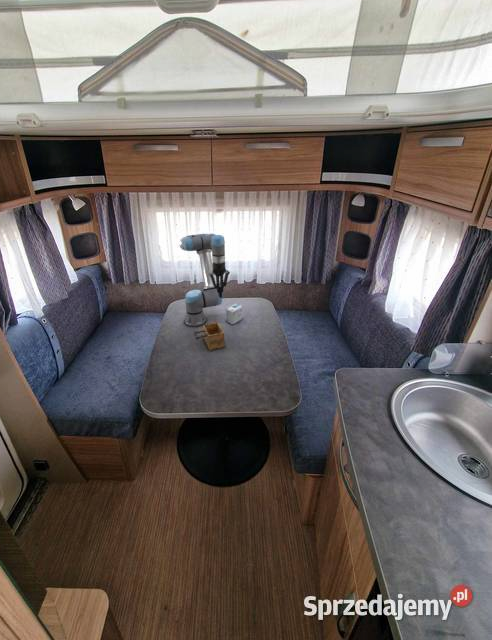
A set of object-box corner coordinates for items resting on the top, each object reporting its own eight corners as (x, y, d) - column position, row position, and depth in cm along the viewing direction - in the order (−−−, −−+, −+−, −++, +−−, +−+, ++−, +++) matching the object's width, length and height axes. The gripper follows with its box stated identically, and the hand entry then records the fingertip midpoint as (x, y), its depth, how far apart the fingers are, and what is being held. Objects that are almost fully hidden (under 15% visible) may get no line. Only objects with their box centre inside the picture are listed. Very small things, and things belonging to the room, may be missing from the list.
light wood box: (224, 346, 180) (198, 353, 175) (218, 335, 191) (193, 341, 186) (224, 332, 176) (197, 338, 171) (217, 321, 187) (192, 327, 182)
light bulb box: (236, 315, 214) (235, 303, 209) (242, 318, 209) (242, 306, 205) (226, 321, 207) (225, 308, 202) (232, 324, 202) (232, 311, 198)
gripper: (210, 265, 162) (212, 301, 172) (231, 262, 166) (232, 297, 176) (206, 261, 169) (208, 296, 179) (227, 258, 173) (228, 292, 182)
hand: (220, 296), depth 177 cm, fingers closed
